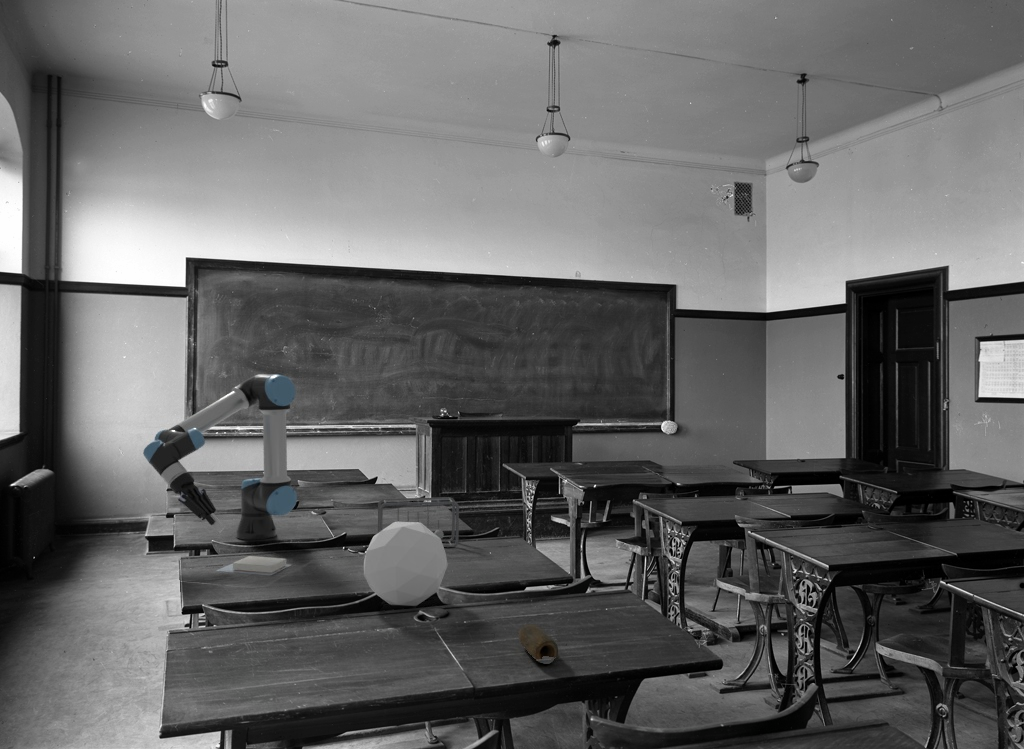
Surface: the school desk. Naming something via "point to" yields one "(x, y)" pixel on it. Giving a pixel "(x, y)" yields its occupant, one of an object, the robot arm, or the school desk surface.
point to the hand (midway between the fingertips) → (221, 530)
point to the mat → (230, 569)
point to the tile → (259, 564)
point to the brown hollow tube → (537, 642)
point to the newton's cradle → (437, 532)
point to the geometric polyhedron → (405, 563)
